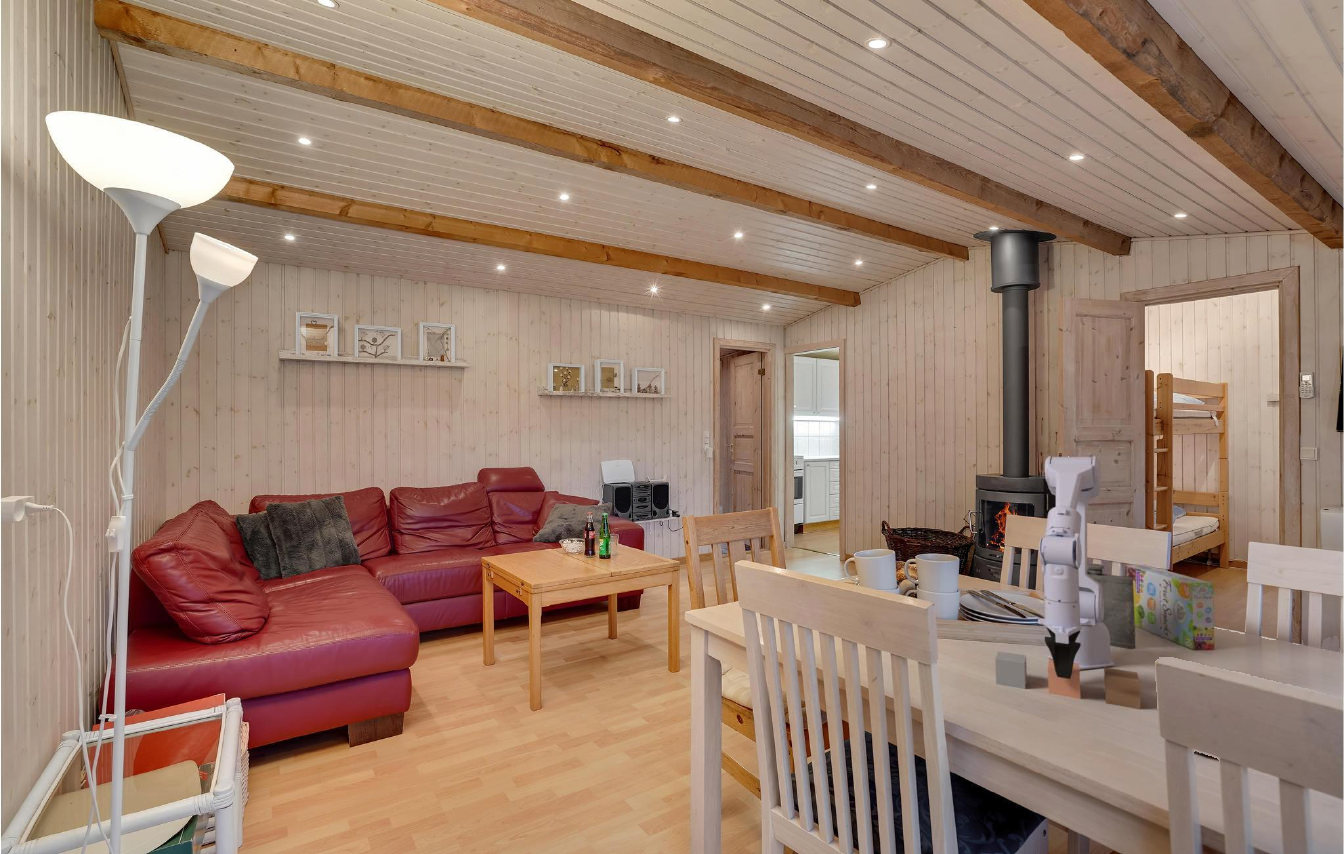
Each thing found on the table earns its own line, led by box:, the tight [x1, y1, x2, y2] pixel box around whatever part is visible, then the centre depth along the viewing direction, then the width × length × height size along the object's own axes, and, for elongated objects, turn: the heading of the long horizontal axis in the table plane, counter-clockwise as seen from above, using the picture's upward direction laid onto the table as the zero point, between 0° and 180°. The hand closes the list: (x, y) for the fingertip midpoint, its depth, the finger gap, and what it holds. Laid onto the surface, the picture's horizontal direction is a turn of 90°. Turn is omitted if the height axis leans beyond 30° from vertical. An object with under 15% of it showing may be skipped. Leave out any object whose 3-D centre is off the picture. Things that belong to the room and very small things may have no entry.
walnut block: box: [1103, 667, 1141, 710], centre depth 113 cm, size 5×5×5 cm
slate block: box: [995, 651, 1028, 690], centre depth 123 cm, size 5×5×5 cm
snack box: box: [1124, 564, 1215, 651], centre depth 149 cm, size 21×6×15 cm, turn 179°
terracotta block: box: [1047, 658, 1081, 700], centre depth 118 cm, size 5×5×5 cm
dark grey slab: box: [1079, 563, 1136, 650], centre depth 146 cm, size 4×14×18 cm, turn 36°
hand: (1063, 670), depth 118 cm, fingers open, 7 cm apart
